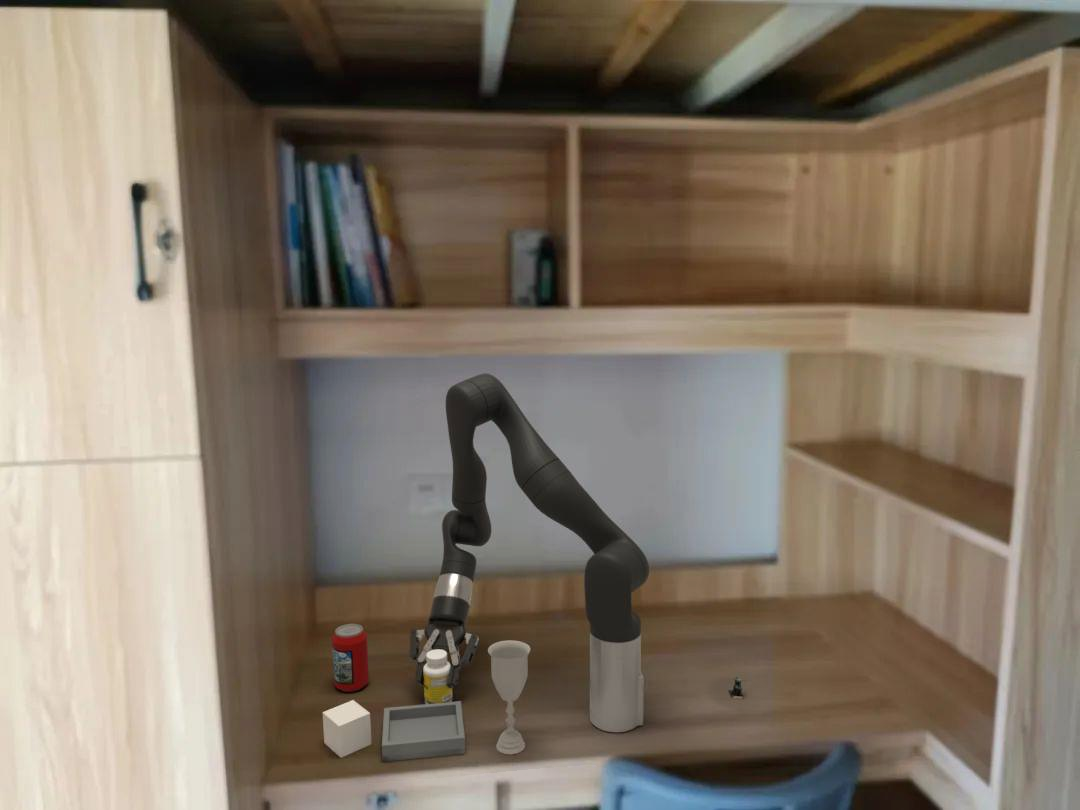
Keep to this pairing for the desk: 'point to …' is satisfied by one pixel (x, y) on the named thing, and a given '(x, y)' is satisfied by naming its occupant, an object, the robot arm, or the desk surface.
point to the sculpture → (736, 689)
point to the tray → (423, 731)
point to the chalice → (509, 686)
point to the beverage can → (350, 657)
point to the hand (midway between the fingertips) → (434, 685)
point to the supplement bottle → (436, 677)
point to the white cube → (347, 728)
